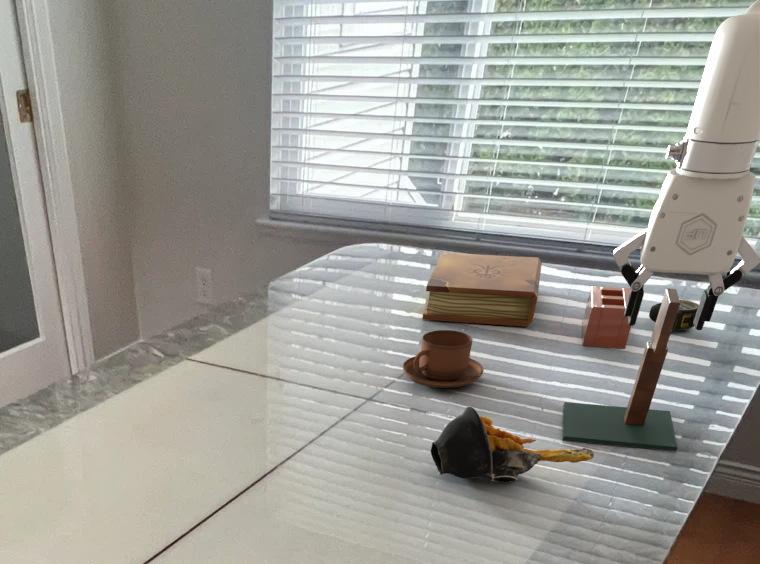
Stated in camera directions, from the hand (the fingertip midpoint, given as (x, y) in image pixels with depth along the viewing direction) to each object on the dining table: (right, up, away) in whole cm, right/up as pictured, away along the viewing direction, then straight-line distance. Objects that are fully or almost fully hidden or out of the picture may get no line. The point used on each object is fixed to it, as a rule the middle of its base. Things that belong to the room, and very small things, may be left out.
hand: (664, 323), depth 106 cm
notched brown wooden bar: (0, -9, +9) cm, 13 cm away
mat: (-2, -10, +9) cm, 13 cm away
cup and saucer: (-22, +2, +23) cm, 32 cm away
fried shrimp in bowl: (-21, -20, -1) cm, 29 cm away
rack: (+9, +15, +36) cm, 40 cm away
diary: (-8, +27, +50) cm, 57 cm away
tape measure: (+21, +17, +37) cm, 46 cm away
